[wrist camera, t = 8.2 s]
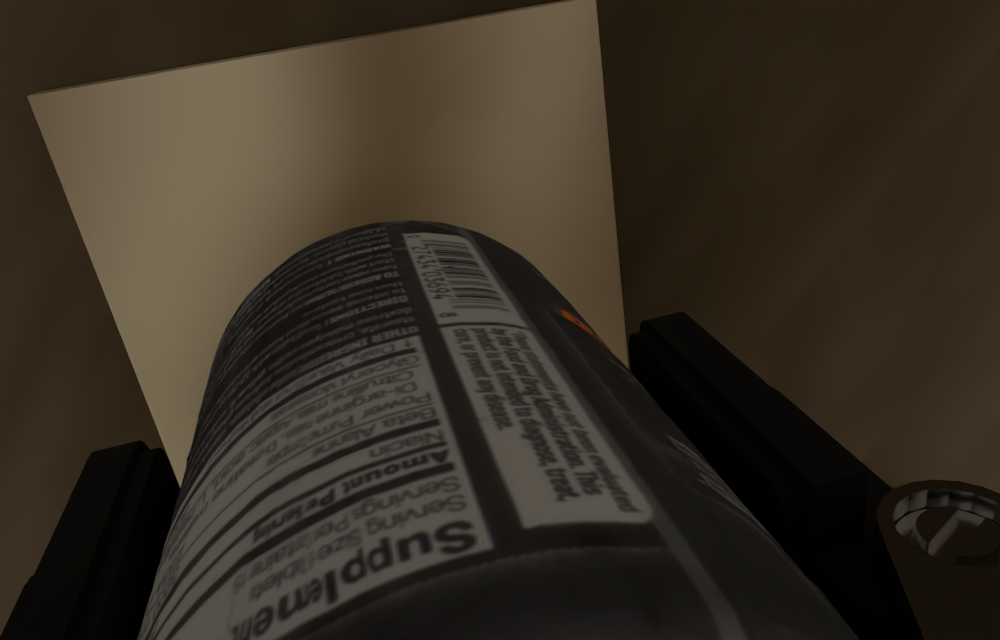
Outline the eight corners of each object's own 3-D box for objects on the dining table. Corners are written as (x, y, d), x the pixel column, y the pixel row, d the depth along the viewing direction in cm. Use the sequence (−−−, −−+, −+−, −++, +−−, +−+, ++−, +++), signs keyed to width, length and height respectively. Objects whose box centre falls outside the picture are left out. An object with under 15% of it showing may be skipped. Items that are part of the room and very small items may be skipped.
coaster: (585, -3, 15) (595, -3, 15) (626, 433, 19) (635, 446, 19) (38, 91, 14) (27, 96, 13) (211, 540, 18) (208, 557, 17)
